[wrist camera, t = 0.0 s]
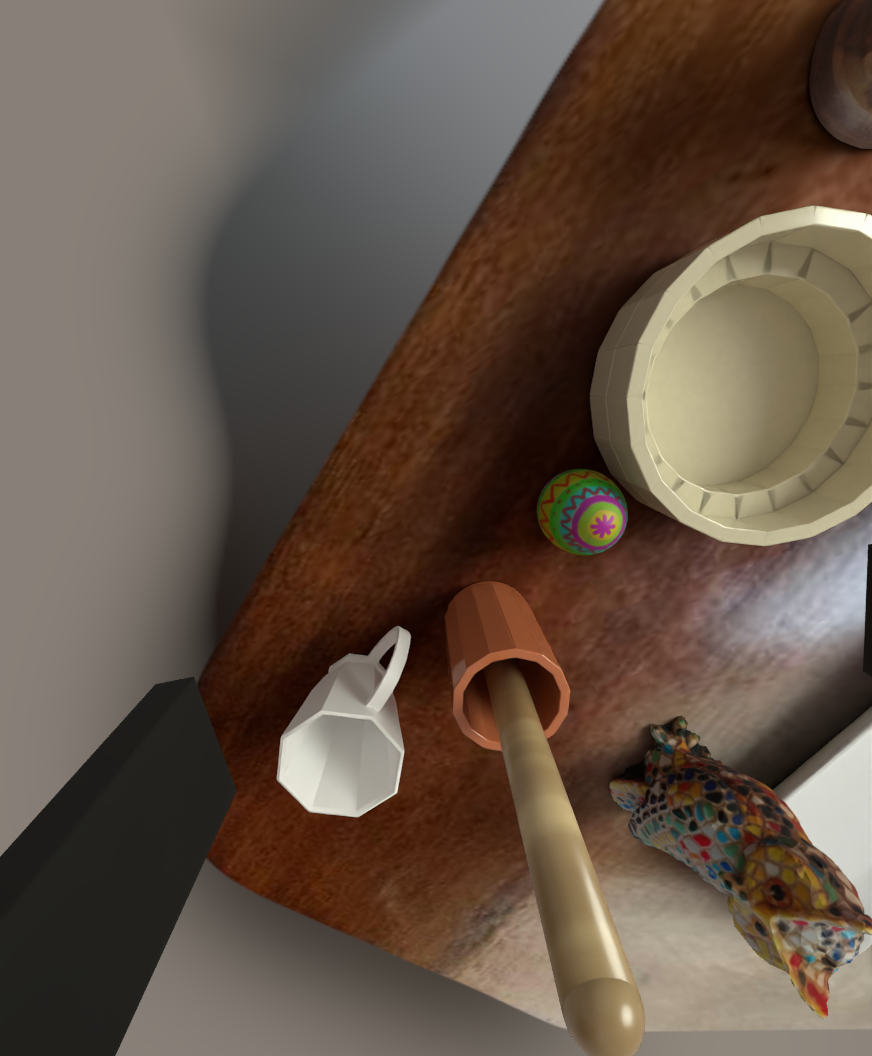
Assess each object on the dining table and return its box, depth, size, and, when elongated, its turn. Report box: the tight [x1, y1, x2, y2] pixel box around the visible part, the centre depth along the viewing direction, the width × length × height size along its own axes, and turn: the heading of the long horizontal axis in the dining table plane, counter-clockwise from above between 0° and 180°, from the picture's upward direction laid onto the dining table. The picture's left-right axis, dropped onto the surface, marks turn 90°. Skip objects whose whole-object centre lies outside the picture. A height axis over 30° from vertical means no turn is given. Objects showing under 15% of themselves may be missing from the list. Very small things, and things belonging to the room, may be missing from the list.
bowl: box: [590, 205, 872, 546], centre depth 27 cm, size 16×16×6 cm
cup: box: [277, 626, 411, 817], centre depth 30 cm, size 7×10×8 cm
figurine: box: [609, 716, 872, 1019], centre depth 29 cm, size 9×9×15 cm
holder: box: [444, 581, 570, 751], centre depth 29 cm, size 6×6×9 cm
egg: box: [537, 469, 628, 555], centre depth 28 cm, size 5×5×6 cm
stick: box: [483, 657, 645, 1056], centre depth 22 cm, size 2×2×22 cm
